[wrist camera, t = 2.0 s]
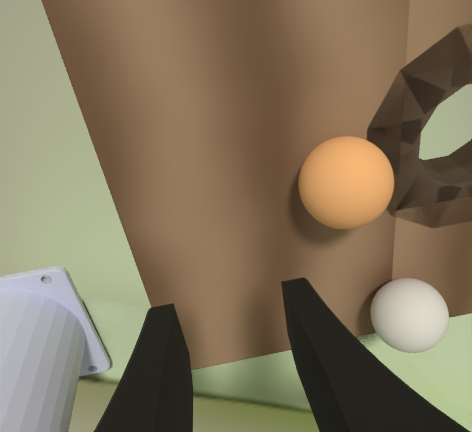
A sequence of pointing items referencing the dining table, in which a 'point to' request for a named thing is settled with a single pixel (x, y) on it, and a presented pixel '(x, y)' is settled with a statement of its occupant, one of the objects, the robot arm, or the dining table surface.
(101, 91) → the board
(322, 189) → the orange ball
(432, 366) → the dining table surface
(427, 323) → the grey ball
